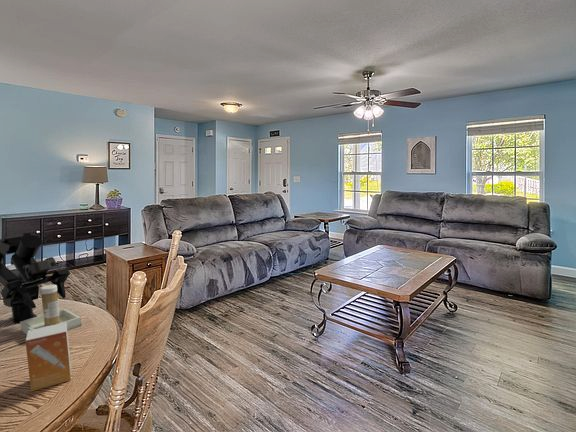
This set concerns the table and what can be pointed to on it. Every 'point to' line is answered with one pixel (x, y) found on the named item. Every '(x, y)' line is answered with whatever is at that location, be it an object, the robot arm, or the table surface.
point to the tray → (64, 315)
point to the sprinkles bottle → (50, 305)
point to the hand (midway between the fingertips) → (50, 302)
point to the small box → (48, 356)
